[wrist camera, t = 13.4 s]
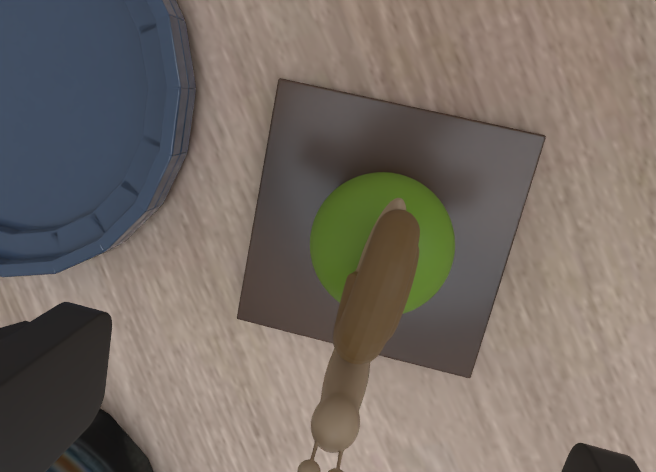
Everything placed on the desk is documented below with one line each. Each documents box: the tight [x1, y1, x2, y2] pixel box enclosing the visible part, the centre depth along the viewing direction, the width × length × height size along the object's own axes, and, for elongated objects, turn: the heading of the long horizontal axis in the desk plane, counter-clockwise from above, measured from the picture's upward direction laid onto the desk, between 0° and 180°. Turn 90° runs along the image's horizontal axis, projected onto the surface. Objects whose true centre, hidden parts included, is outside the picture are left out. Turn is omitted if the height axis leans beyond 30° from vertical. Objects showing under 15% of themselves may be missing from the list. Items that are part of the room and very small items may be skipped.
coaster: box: [237, 79, 546, 378], centre depth 23 cm, size 11×11×1 cm
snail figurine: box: [298, 172, 455, 472], centre depth 17 cm, size 5×6×12 cm
